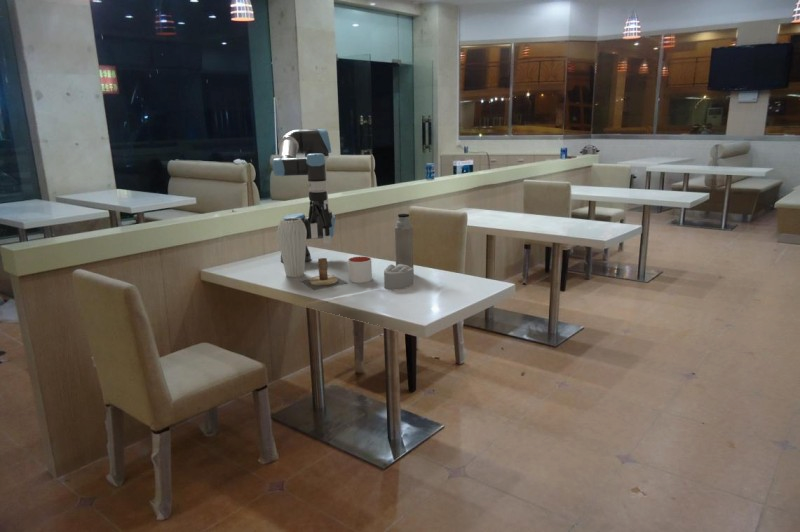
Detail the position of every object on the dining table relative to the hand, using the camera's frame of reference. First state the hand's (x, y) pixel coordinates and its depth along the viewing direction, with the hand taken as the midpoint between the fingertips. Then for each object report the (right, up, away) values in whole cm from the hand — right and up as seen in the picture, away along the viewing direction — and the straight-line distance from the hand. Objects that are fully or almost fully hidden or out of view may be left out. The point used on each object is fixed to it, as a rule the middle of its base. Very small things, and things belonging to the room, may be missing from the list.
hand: (320, 240), depth 241 cm
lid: (+1, -18, +5) cm, 19 cm away
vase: (-14, -16, +18) cm, 28 cm away
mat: (+1, -19, +5) cm, 19 cm away
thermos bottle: (+36, -15, +15) cm, 42 cm away
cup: (+17, -18, +7) cm, 25 cm away
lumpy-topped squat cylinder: (+33, -19, 0) cm, 38 cm away
